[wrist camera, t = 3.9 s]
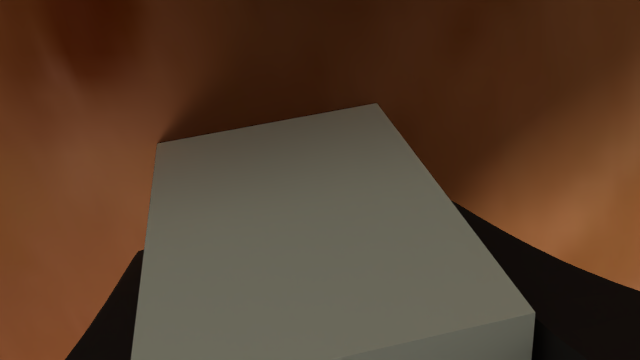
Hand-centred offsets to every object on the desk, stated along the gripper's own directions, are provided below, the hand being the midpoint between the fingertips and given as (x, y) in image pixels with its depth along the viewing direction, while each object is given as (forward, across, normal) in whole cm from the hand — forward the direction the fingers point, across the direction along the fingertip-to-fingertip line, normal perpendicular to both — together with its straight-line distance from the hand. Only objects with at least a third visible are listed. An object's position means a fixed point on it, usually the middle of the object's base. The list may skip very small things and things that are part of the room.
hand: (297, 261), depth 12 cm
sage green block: (+2, 0, 0) cm, 2 cm away
